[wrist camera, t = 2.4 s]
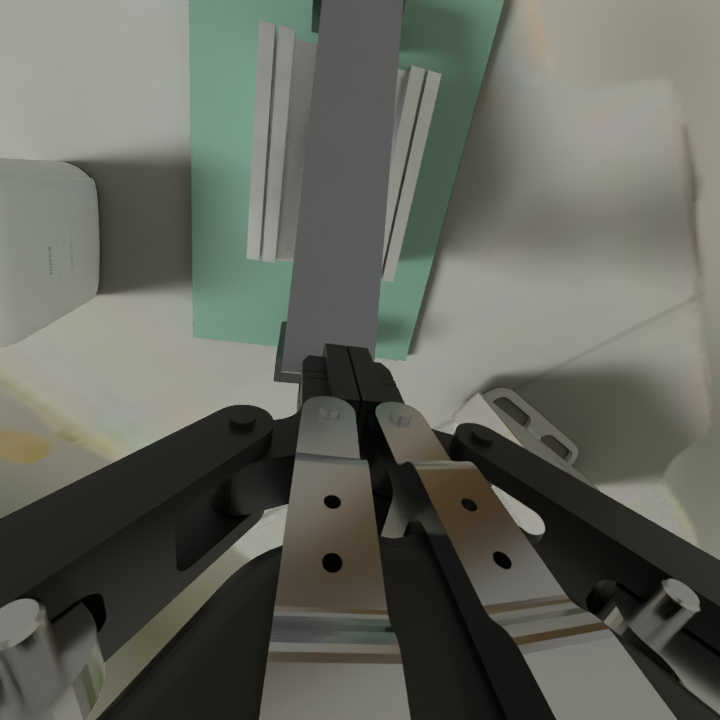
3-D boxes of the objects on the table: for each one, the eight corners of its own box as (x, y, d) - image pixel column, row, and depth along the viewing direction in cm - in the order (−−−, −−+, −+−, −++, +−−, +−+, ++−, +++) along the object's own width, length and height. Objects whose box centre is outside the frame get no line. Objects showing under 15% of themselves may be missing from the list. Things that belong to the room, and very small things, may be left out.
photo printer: (104, 303, 30) (-9, 372, 19) (45, 290, 29) (-110, 356, 18) (104, 173, 26) (-39, 167, 15) (36, 153, 25) (-172, 131, 14)
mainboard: (193, -109, 21) (187, -125, 20) (497, 1, 25) (506, -8, 24) (196, 331, 32) (193, 336, 31) (402, 355, 37) (405, 360, 36)
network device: (595, 461, 48) (762, 622, 31) (545, 500, 51) (674, 670, 33) (481, 363, 38) (632, 517, 21) (425, 417, 41) (519, 597, 23)
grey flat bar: (321, -33, 18) (325, -68, 17) (401, -6, 19) (411, -36, 18) (276, 372, 16) (276, 370, 15) (370, 381, 17) (378, 380, 16)
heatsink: (274, -22, 22) (263, -107, 15) (425, 27, 24) (470, -29, 18) (251, 338, 32) (238, 378, 26) (358, 350, 34) (370, 390, 28)
